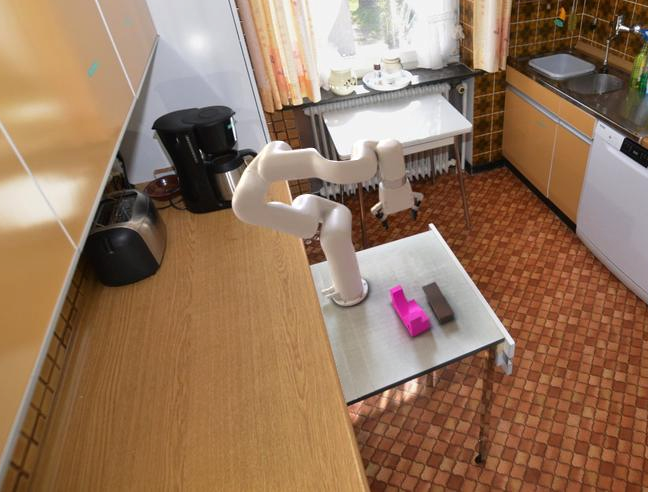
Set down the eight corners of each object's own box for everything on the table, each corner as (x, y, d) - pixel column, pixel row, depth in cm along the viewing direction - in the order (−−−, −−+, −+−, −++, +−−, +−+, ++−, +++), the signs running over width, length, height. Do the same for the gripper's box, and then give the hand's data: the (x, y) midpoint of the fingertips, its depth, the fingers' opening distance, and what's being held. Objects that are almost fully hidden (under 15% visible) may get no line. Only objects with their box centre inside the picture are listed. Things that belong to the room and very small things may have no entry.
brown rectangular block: (422, 291, 153) (422, 286, 151) (435, 286, 154) (435, 281, 153) (440, 324, 141) (439, 318, 139) (454, 318, 142) (454, 313, 141)
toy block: (430, 327, 140) (428, 312, 136) (412, 336, 138) (410, 321, 133) (408, 296, 151) (406, 281, 147) (392, 304, 149) (389, 289, 145)
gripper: (416, 165, 137) (420, 208, 146) (362, 180, 132) (371, 224, 141) (425, 177, 131) (429, 221, 140) (369, 193, 126) (378, 238, 135)
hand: (400, 222), depth 141 cm, fingers open, 9 cm apart
